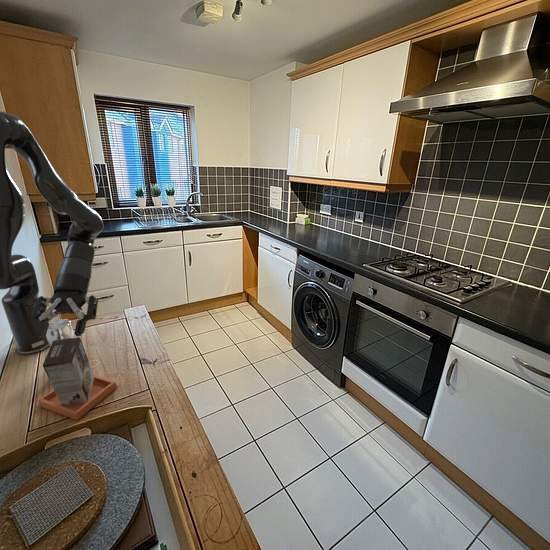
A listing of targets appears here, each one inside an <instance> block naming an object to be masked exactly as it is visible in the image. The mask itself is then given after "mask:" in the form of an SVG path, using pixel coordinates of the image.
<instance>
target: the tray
mask: <svg viewBox="0 0 550 550" xmlns="http://www.w3.org/2000/svg"><path fill="white" fill-rule="evenodd" d="M117 388H118V386H117V381H115V380H112V379H108V378H106V377H102V376H98V375H95V374H94V381H93V385H92V389H91V393H90V397H89V401H88V402H87V403H83V404H78V405H73V406H67V407H64V406H61V404H60V402H59V399H58V397H57V395H56V393H55V391H54V389H53V388H52V390H50V391H49V392H48V393H46V394H44V395H43V396H42V397H40V398H38V399H37V402H38V405H39V407H41V408H43V409H47V410H48V411H52V412H54V413H57V414H59V415H62V416H65V417H68V418H71V419H73V420H76V421H78V420H79V419H80V418H82V417H83V416H84V415H86V413H88V412H89V411H90V410H91V409H92V408H93V407H95V406H96V405H97V404H98V403H100V402H101V401H102V400H103V399H105V398H107V396H108V395H110V393H112V392H114V391H115V389H117Z"/></svg>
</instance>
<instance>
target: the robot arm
mask: <svg viewBox="0 0 550 550" xmlns="http://www.w3.org/2000/svg"><path fill="white" fill-rule="evenodd" d="M6 149H7V150H13V151H14V152H15V153H17V154H18V155H19V156H20V157H21V158H22V159H23V161H24V162H25V163H26V164H27V166H28V168H29V170H30V173H31V177H32V180H33V183H34V185H35V187H36V190H37V191H38V193H39V194H40V195H41V196H42V198H43V199H44V200H45V201H46V202H47V203H48V205H50V207H51V208H52V209H53V210H54V211H55V212H56V213H58V214H59V215H63V216H65V215H67V216H68V217H70V218H71V219H72V221H73V222H72V223H71V225H70V226H69V229H68V233H67V245H66V248H65V251H64V255H63V258H62V261H61V264H60V266H59V269H58V273H57V276H56V280H55V283H54V287H53V295H52V296H51V297H44V296H43V295H40V296H39V293H40V287H39V282H38V277H37V273H36V269H35V267H34V265H33V263H32V262H31V260H30V259H29V258H27V256H25V255H22V254H17V253H16V254H12V252H13V246H14V244H15V241H16V239H17V237H18V236H19V233H21V230H22V228H23V226H24V223H25V216H26V215H25V198H24V196H23V193H22V191H21V190H20V188H19V187H18V185H17V184H16V182H15V181H14V180H13V178H12V176H11V175H10V173H9V170H8V168H7V162H6V161H7V160H6ZM104 226H105V225H104V221H103V219H102V217H101V216H100V214H99V213H98V212H97V211H96V210H94V208H92V207H91V206H89V205H88V204H87V203H86V202H84V201H83V200H81V199H80V198H79V197H78V196H77V194H75V192H74V191H73V190H72V189H71V188H70V186H69V185H68V184H67V183H66V182H65V181H64V179H63V177H61V176H60V175H59V173H58V171H57V170H56V169H55V168H54V166H53V164H52V163H51V162H50V159H48V157H47V155H46V154H45V152H44V151H43V149H42V147H41V146H40V144H39V143H38V141H37V139H36V138H35V136H34V135H33V133H32V132H31V130H30V128H29V127H28V126H27V124H26V123H25V122H24V121H23V119H21V118H20V117H19V116H17V115H15V114H13V113H10V112H6V111H1V110H0V290H1V291H2V290H3V291H4V290H8V291H6V293H5V294H4V295H3V296H2V298H1V304H2V308H3V311H4V313H5V316H6V319H7V322H8V324H9V325H8V326H9V329H10V330H11V333H12V337H13V340H14V343H15V346H16V348H17V352H18V354H20V355H31V354H36V353H38V352H41V351H44V350H45V349H47V348H48V347H49V348H50V346H49V344H48V341H47V338H46V334H47V330H48V327H49V323H50V322H51V321H53V319H54V318H56V317H58V316H59V315H67V314H70V315H74V314H75V315H76V316H77V318H78V319H77V320H76V324H75V328H74V334H75V337H76V336H77V337H81V336H82V335H83V334H84V333H85V331H86V326H87V322H88V321H90V320H96V318H97V312H98V304H99V299H98V298H97V297H96V296H94V295H90V296H87V295H88V291H89V286H90V282H91V279H92V274H93V265H94V259H95V255H96V248H95V247H94V244H95V240H96V238H97V237H98V235H99V234H100V233H102V231H103V229H104ZM85 304H86V305H87V309H86V312H85V310H84V309H83V306H84V305H85Z"/></svg>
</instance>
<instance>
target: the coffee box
mask: <svg viewBox="0 0 550 550" xmlns="http://www.w3.org/2000/svg"><path fill="white" fill-rule="evenodd" d="M42 367H43V369H44V371H45V374H46V376H47V378H48V380H49V383H50V384H51V386H52V390H53V389H54V391H55V393H56V395H57V397H58V399H59V402H60V404H61V406H64V407H67V406H73V405H78V404H83V403H87V402H88V401H89V397H90V393H91V389H92V385H93V381H94V375H95V374H94V371H93V369H92V365H91V364H90V361H89V358H88V354H87V353H86V349H85V347H84V344H83V341H82V339H81V336H77V337H75V338H68V339H60V340H54V341H53V342H52V345H51V347H50V346H49V349H48V352H47V354H46V356H45V359H44V361H43V363H42Z"/></svg>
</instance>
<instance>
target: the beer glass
mask: <svg viewBox="0 0 550 550" xmlns="http://www.w3.org/2000/svg"><path fill="white" fill-rule="evenodd" d="M48 323H49V327H48V330H47V334H46V338H47V341H48V344H49V348H50V347H51V345H52V342H53V341H54V340H60V339H68V338H76V335H75V334H74V332H75V329H74V328H73V325H72V322H71V320H70V319H68V318H61V319H55V320H51V321H49V322H48Z"/></svg>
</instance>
